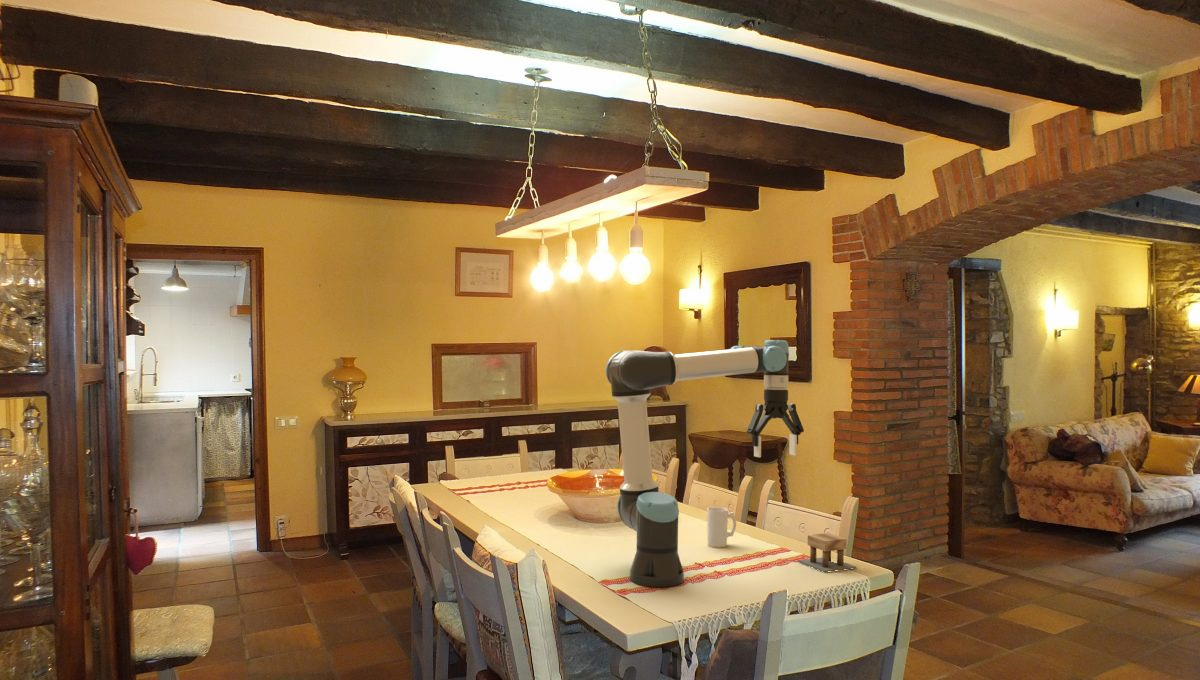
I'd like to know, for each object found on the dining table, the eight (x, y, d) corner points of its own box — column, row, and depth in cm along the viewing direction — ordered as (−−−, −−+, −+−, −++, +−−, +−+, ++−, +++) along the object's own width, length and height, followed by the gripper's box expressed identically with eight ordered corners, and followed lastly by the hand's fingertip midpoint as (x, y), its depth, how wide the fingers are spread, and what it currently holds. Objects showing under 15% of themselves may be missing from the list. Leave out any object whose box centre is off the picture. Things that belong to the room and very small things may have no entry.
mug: (710, 548, 249) (711, 511, 249) (704, 543, 255) (704, 507, 256) (739, 547, 251) (740, 510, 251) (732, 542, 257) (732, 506, 258)
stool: (824, 568, 225) (825, 541, 225) (807, 561, 233) (807, 535, 233) (846, 565, 228) (846, 538, 228) (828, 558, 236) (828, 532, 236)
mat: (824, 572, 223) (824, 570, 223) (798, 562, 234) (798, 560, 234) (856, 568, 227) (856, 566, 227) (829, 558, 238) (829, 556, 238)
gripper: (749, 389, 232) (749, 459, 232) (815, 389, 242) (814, 455, 242) (736, 388, 239) (735, 455, 239) (800, 387, 249) (799, 452, 249)
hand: (775, 456), depth 240 cm, fingers open, 13 cm apart
